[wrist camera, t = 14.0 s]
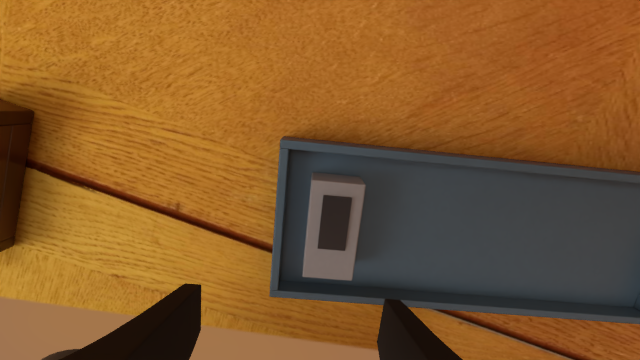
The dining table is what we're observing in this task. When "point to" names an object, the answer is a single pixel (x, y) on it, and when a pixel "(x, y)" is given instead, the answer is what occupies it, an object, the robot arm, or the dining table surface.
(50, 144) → the dining table surface
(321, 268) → the grey block
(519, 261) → the tray
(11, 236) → the brown drawer handle
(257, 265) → the dining table surface
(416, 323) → the robot arm
